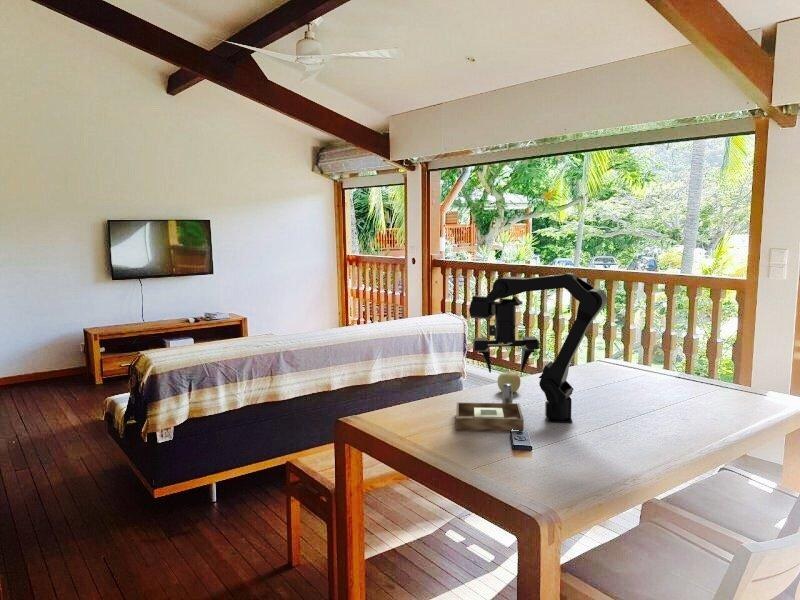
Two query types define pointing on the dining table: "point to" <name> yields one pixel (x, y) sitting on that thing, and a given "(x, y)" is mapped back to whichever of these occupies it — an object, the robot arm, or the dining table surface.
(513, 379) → the fruit
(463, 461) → the dining table surface
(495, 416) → the bore plate
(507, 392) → the peg
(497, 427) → the crate
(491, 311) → the robot arm
